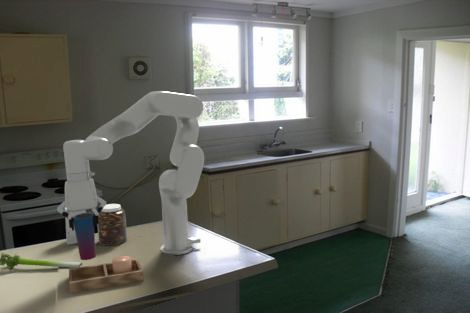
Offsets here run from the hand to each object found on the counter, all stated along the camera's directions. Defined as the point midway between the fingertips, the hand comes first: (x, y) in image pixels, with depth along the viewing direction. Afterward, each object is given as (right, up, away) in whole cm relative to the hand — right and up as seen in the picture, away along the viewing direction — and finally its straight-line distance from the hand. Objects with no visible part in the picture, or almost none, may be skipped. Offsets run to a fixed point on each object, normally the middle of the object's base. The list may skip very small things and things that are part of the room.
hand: (84, 227), depth 149 cm
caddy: (+9, -17, -7) cm, 20 cm away
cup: (+1, -11, +2) cm, 11 cm away
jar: (0, -11, +34) cm, 36 cm away
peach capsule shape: (+14, -15, -5) cm, 22 cm away
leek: (-18, -16, +7) cm, 25 cm away
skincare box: (-15, -12, +34) cm, 39 cm away
